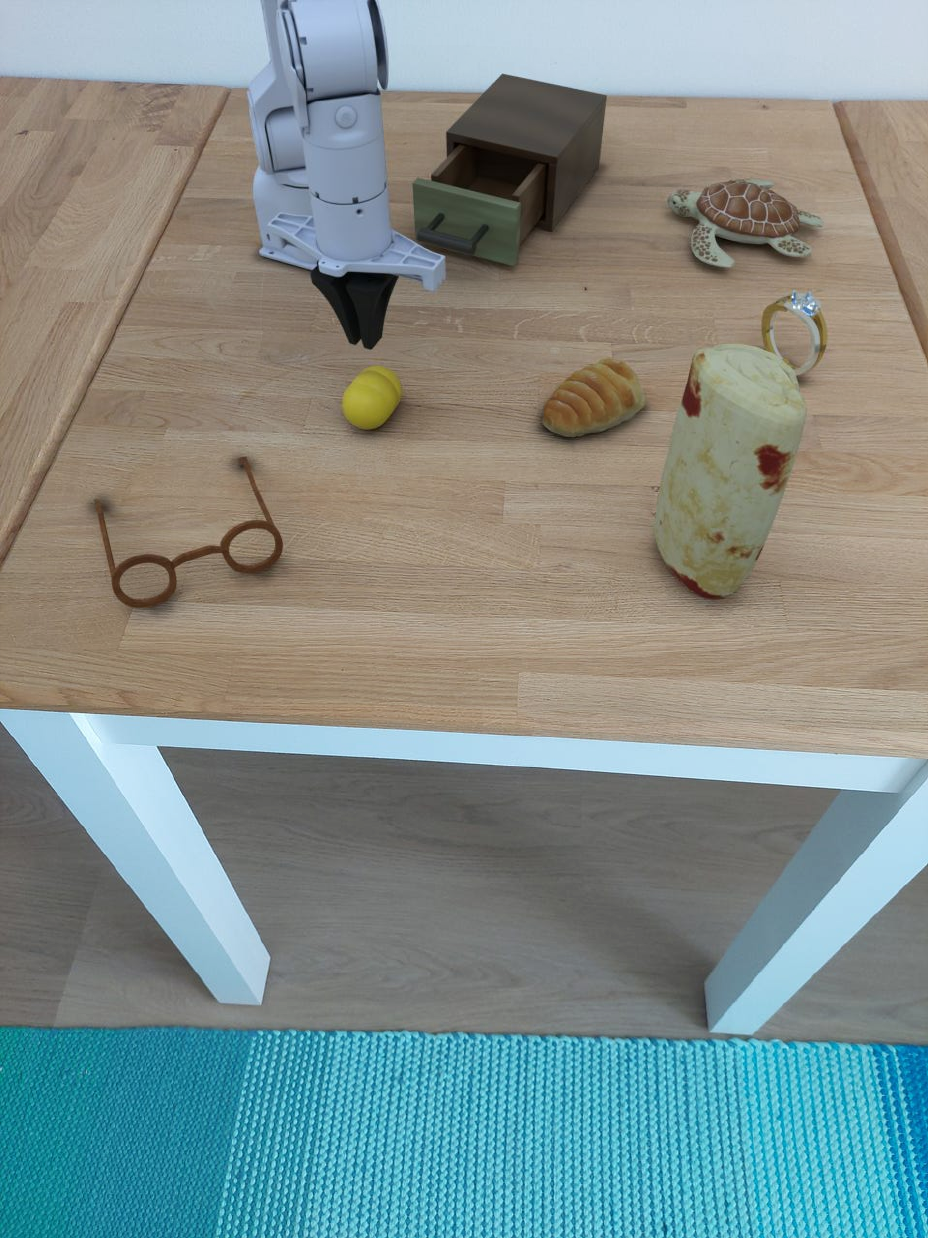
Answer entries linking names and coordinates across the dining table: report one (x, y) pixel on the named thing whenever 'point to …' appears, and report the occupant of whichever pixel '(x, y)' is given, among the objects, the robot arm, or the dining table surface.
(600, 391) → the pastry
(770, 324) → the ring
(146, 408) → the dining table surface
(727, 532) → the food model
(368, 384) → the yellow capsule container
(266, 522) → the glasses
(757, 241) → the decorative turtle
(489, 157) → the drawer
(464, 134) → the cabinet
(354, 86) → the robot arm
